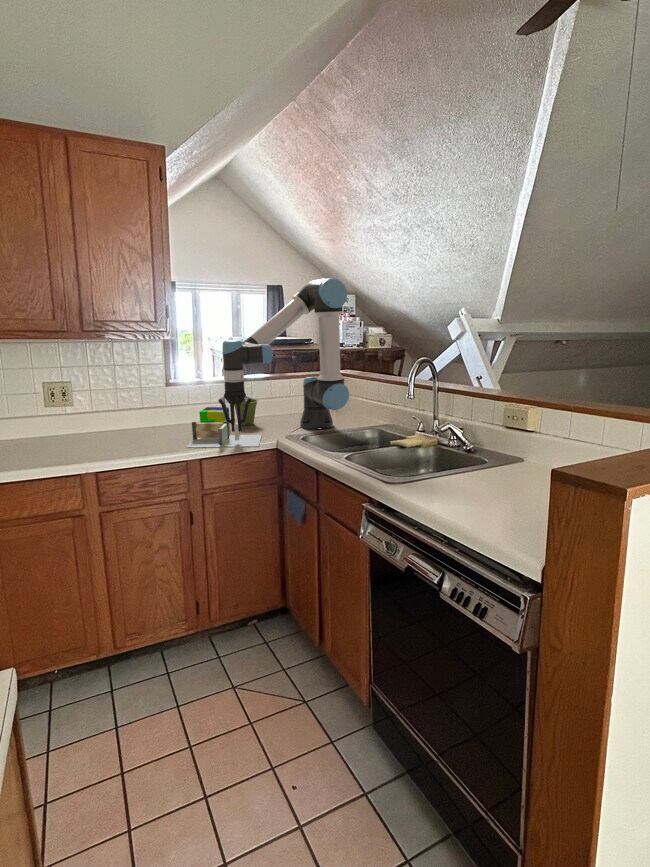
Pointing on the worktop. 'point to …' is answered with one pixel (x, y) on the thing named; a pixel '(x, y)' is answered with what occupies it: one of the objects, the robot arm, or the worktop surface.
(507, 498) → the worktop surface
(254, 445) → the card
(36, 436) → the worktop surface
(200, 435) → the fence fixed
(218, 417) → the puzzle toy
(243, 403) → the plant pot
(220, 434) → the fence panel
